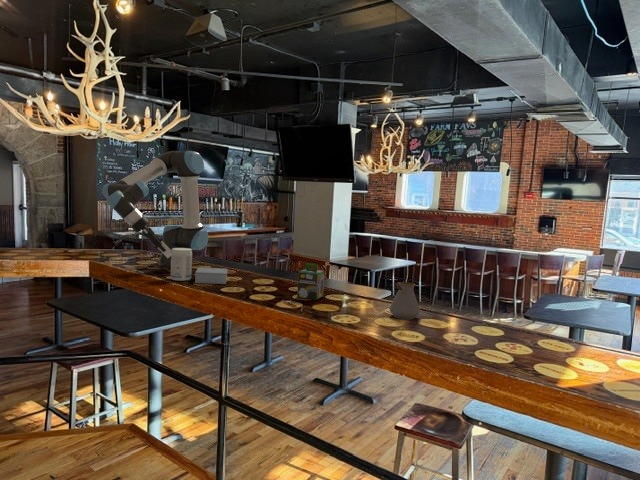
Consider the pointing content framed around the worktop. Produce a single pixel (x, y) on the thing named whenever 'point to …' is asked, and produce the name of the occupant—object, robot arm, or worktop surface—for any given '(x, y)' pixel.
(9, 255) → the worktop surface
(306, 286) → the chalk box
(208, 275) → the slate-blue box
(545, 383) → the worktop surface
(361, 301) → the worktop surface
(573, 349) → the worktop surface
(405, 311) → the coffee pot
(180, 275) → the supplement tub
